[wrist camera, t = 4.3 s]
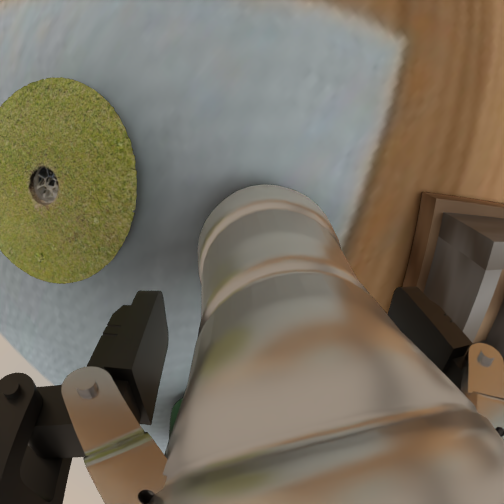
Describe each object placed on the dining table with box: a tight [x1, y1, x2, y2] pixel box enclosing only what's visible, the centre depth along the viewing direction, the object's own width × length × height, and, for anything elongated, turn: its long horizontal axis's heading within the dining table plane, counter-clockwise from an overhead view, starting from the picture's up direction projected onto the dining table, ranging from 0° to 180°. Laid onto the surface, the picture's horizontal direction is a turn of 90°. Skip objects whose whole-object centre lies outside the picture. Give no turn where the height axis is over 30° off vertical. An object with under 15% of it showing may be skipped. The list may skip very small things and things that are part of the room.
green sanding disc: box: [0, 77, 137, 284], centre depth 13 cm, size 11×11×2 cm
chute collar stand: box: [402, 192, 504, 357], centre depth 18 cm, size 24×13×6 cm, turn 179°
